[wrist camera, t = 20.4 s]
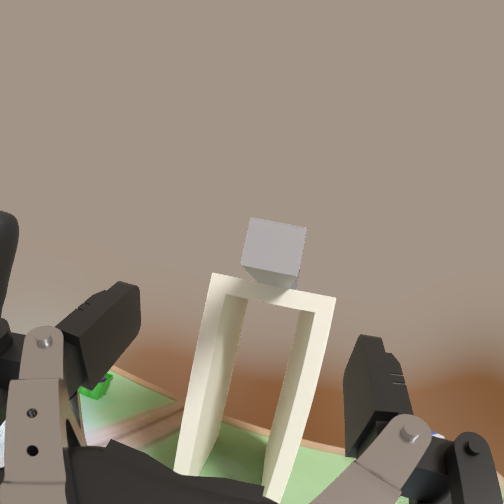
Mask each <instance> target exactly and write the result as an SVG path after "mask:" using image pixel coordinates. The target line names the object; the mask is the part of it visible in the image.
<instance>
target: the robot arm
mask: <svg viewBox="0 0 504 504" xmlns="http://www.w3.org/2000/svg"><path fill="white" fill-rule="evenodd" d="M18 237H19V226H18V222H17V219H16V218H15V217H14V216H13V215H12V214H9V213H7V212H3V211H0V426H1V424H2V423H3V422H4V421H5V419H6V424H5V452H4V464H5V467H2V468H0V504H279V503H277V502H275V501H273V500H271V499H269V498H267V497H264V496H263V492H264V487H265V486H260V485H255V484H250V483H245V482H240V481H236V480H232V479H227V478H218V477H200V476H188V475H181V474H178V473H176V472H175V471H173V470H171V469H170V468H168V467H166V466H165V465H163V464H161V463H160V462H158V461H157V460H155V459H153V458H152V457H150V456H149V455H147V454H146V453H144V452H141V451H139V450H136V449H134V448H131V447H129V446H126V445H124V444H122V443H119V442H117V441H115V440H112V439H111V440H110V442H109V443H108V445H107V446H106V447H98V446H87V443H86V439H85V434H84V428H83V420H82V412H81V403H80V395H79V391H78V388H79V387H80V386H82V387H84V388H86V389H88V390H91V391H93V389H94V388H95V387H96V386H97V384H98V383H99V382H100V381H101V379H102V378H103V377H104V376H105V374H106V373H107V372H108V371H109V369H110V368H111V367H112V366H113V364H114V363H115V362H116V361H117V359H118V358H119V357H120V356H121V355H122V353H123V352H124V351H125V350H126V348H127V347H128V346H129V345H130V344H131V342H132V341H133V340H134V339H135V337H136V336H137V335H138V332H139V330H140V326H141V311H140V290H139V288H138V286H136V285H132V284H128V283H125V282H121V281H118V282H117V283H116V284H114V285H113V286H112V287H111V288H110V289H108V290H107V291H106V290H104V291H101V292H99V293H96V294H94V295H92V296H91V297H90V298H89V299H87V300H86V301H85V303H84V304H81V305H80V306H79V307H78V309H75V310H74V311H73V312H72V313H71V314H69V315H68V316H67V317H66V318H65V319H64V320H62V321H61V322H60V323H59V324H58V325H56V326H55V327H52V326H41V327H37V328H35V329H33V330H31V331H30V332H29V333H28V334H27V335H22V334H17V333H12V332H11V331H10V328H9V324H8V322H7V321H6V320H5V319H3V318H1V312H2V307H3V304H4V300H5V297H6V293H7V287H8V281H9V277H10V273H11V268H12V265H13V261H14V257H15V253H16V249H17V244H18ZM402 375H403V373H402V369H401V366H400V363H399V362H398V361H397V359H396V358H395V357H394V356H393V354H392V353H386V352H385V349H384V345H383V342H382V339H381V338H380V337H374V336H367V335H362V334H361V335H360V336H359V337H358V340H357V342H356V344H355V347H354V349H353V352H352V354H351V357H350V359H349V362H348V364H347V367H346V369H345V373H344V378H343V394H344V417H345V457H356V461H353V462H352V463H351V464H350V465H349V466H348V467H347V468H346V469H345V470H344V471H343V472H342V473H341V474H340V475H339V476H338V477H337V478H336V479H335V480H334V481H333V482H332V483H331V484H330V485H329V486H328V487H327V488H326V489H325V490H324V491H323V492H322V493H321V494H319V495H318V496H317V497H316V498H315V499H314V500H313V501H312V502H311V503H309V504H395V502H396V501H397V499H398V498H399V497H400V496H404V497H407V498H409V504H503V500H502V495H501V491H500V486H499V482H498V477H497V473H496V469H495V466H494V462H493V458H492V455H491V451H490V448H489V445H488V443H487V442H486V440H485V439H484V438H483V437H481V436H480V435H478V434H476V433H473V432H464V433H462V434H460V435H459V436H458V437H457V438H456V439H455V440H454V441H453V442H452V441H448V440H445V439H442V438H438V437H435V436H432V434H431V430H430V428H429V426H428V425H427V424H426V423H425V422H424V421H423V420H422V419H420V418H419V417H417V416H414V415H413V411H412V407H411V403H410V399H409V395H408V392H407V387H406V385H405V381H404V377H403V376H402Z"/></svg>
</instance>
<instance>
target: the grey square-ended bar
mask: <svg viewBox="0 0 504 504" xmlns="http://www.w3.org/2000/svg"><path fill="white" fill-rule="evenodd" d="M306 230H307V228H304V227H299V226H294V225H288V224H283V223H279V222H273V221H268V220H263V219H257V218H252V217H251V219H250V223H249V227H248V232H247V236H246V241H245V245H244V250H243V254H242V259H241V264H240V265H241V266H242V267H243V268H244V269H245V270H246V271H247V272H248V273H249V274H250V275H251V276H252V277H253V278H254V279H255V280H256V281H257V282H259V283H264V284H269V285H274V286H278V287H283V288H288V289H293V290H296V287H297V281H298V277H299V272H300V269H299V267H300V262H301V257H302V252H303V246H304V241H305V236H306Z"/></svg>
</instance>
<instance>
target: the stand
mask: <svg viewBox="0 0 504 504" xmlns="http://www.w3.org/2000/svg"><path fill="white" fill-rule="evenodd" d="M248 299H251V300H256V301H261V302H265V303H270V304H275V305H280V306H285V307H290V308H295V309H300V312H299V317H298V321H297V326H296V331H295V335H294V339H293V344H292V348H291V353H290V357H289V361H288V365H287V369H286V373H285V378H284V382H283V386H282V390H281V394H280V398H279V402H278V406H277V409H276V413H275V417H274V421H273V424H272V428H271V432H270V435H269V439H268V443H267V446H266V452H265V460H264V468H263V476H262V484H261V486H265V487H264V492H263V496H264V497H267V498H269V499H271V500H273V501H275V502H277V503H279V504H280V501H281V499H282V496H283V493H284V490H285V487H286V485H287V482H288V479H289V476H290V473H291V470H292V467H293V464H294V461H295V458H296V455H297V451H298V448H299V445H300V442H301V438H302V435H303V431H304V428H305V425H306V422H307V418H308V415H309V411H310V408H311V403H312V400H313V397H314V393H315V389H316V385H317V381H318V377H319V373H320V369H321V365H322V361H323V357H324V352H325V349H326V344H327V339H328V335H329V331H330V326H331V321H332V317H333V312H334V307H335V302H336V298H333V297H329V296H324V295H319V294H313V293H308V292H303V291H298V290H293V289H288V288H283V287H278V286H274V285H269V284H264V283H259V282H254V281H249V280H245V279H240V278H235V277H231V276H226V275H221V274H216V273H212V277H211V281H210V286H209V290H208V295H207V299H206V304H205V309H204V313H203V318H202V323H201V327H200V333H199V337H198V342H197V347H196V351H195V357H194V362H193V366H192V372H191V377H190V382H189V387H188V393H187V398H186V402H185V408H184V413H183V419H182V424H181V430H180V435H179V441H178V446H177V452H176V458H175V464H174V470H173V471H175V472H176V473H178V474H181V475H188V476H199V474H200V472H201V470H202V468H203V466H204V464H205V462H206V460H207V458H208V457H209V455H210V453H211V451H212V449H213V447H214V445H215V443H216V441H217V439H218V435H219V431H220V426H221V422H222V417H223V412H224V408H225V404H226V399H227V395H228V390H229V386H230V381H231V377H232V372H233V368H234V363H235V358H236V354H237V349H238V344H239V340H240V336H241V331H242V327H243V322H244V317H245V313H246V308H247V303H248Z"/></svg>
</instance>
